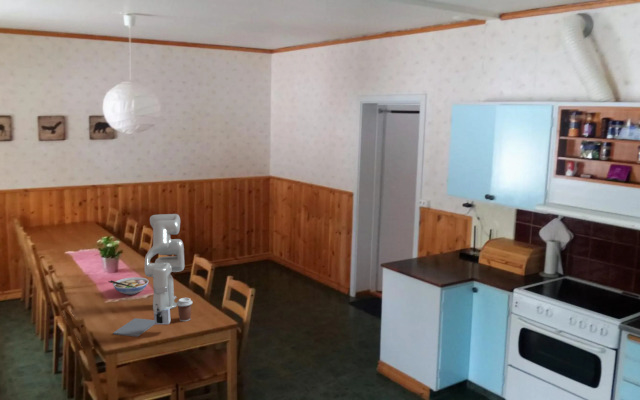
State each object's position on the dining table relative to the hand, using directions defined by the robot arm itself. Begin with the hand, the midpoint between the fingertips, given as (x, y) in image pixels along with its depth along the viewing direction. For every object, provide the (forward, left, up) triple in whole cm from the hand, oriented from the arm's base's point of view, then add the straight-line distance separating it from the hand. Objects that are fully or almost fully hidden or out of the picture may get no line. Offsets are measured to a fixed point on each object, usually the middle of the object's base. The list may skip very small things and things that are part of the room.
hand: (162, 320), depth 311 cm
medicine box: (0, 0, -2) cm, 2 cm away
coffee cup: (-20, +3, -7) cm, 22 cm away
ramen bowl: (-55, -53, -7) cm, 77 cm away
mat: (-2, -18, -7) cm, 19 cm away
